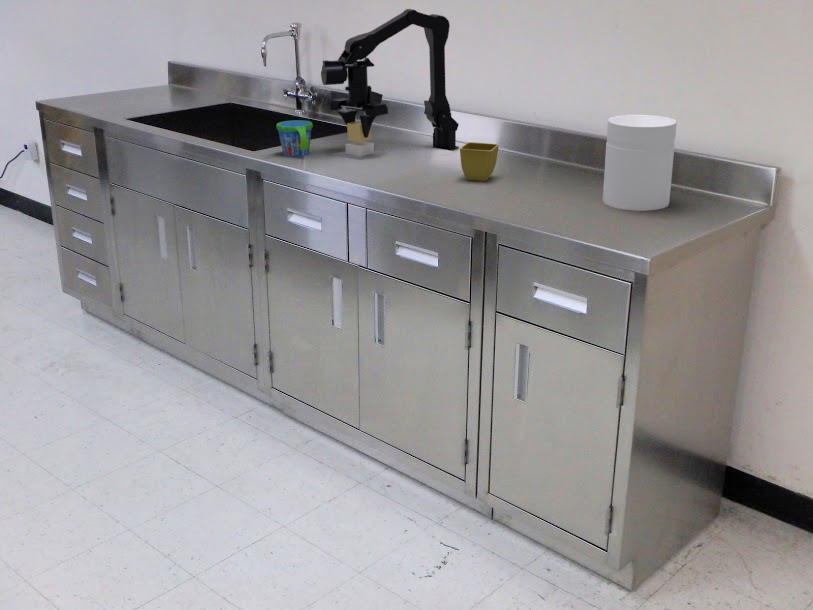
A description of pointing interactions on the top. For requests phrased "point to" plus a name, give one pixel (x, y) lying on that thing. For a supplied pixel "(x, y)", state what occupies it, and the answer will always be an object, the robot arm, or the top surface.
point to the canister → (639, 162)
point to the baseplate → (343, 154)
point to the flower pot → (478, 160)
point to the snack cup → (295, 137)
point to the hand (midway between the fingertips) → (359, 136)
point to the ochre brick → (357, 132)
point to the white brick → (359, 148)
